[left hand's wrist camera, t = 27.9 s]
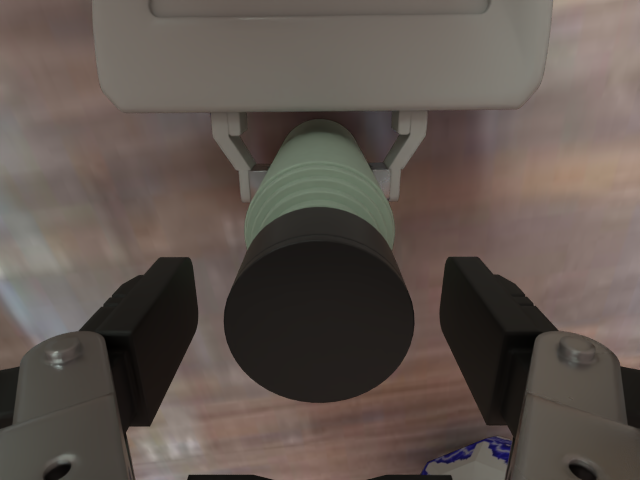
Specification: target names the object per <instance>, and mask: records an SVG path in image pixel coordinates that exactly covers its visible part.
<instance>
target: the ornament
mask: <svg viewBox="0 0 640 480" xmlns="http://www.w3.org/2000/svg"><path fill="white" fill-rule="evenodd" d="M511 444H512V440H510V439H506V438H503V437H500V436H494V437H490V438H487V439H484V440H481V441H479V442H476V443H474V444H471V445H469V446H466V447H464V448H461V449H459V450H456V451H454V452H451V453H449V454H447V455H444V456H442V457H439V458H437V459H434V460H432V461H429V462H427V464H426V465H425V467H424V469H423V471H422V473H421V474H420V475H451V476H452V479H453V480H505V475H506V470H507V464H508V459H509V454H510V449H511Z"/></svg>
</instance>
